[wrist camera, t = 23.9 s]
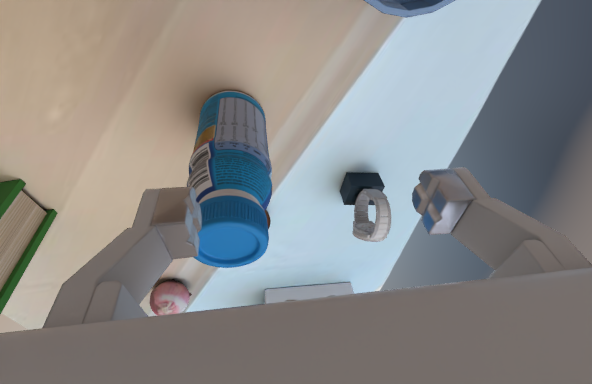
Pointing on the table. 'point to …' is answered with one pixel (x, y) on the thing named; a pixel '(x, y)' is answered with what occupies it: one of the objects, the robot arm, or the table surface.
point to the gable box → (307, 292)
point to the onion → (169, 298)
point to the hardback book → (18, 234)
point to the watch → (361, 194)
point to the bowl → (408, 6)
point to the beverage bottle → (231, 180)
